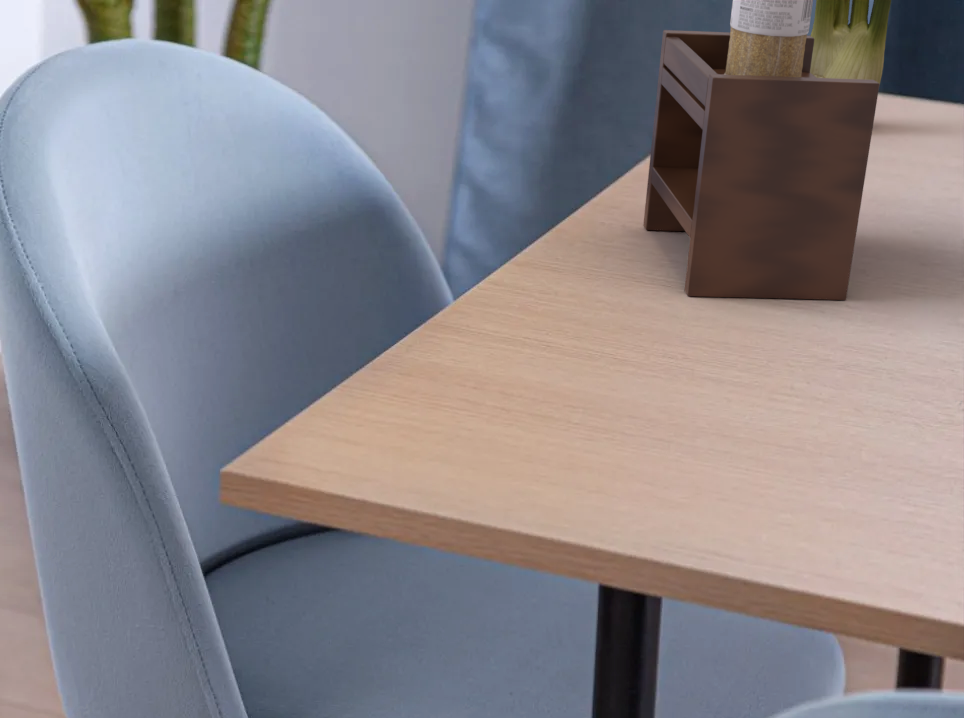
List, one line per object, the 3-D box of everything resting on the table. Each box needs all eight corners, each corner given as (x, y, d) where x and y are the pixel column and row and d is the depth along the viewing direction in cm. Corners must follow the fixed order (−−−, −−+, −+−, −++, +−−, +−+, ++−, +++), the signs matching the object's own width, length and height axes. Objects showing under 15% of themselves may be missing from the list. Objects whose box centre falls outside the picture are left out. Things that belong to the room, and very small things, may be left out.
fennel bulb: (877, 127, 140) (902, -31, 134) (857, 137, 136) (882, -24, 131) (807, 115, 142) (829, -39, 137) (786, 126, 138) (807, -33, 133)
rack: (783, 229, 111) (810, 35, 106) (846, 300, 99) (880, 83, 93) (642, 225, 110) (663, 29, 105) (687, 296, 98) (712, 77, 93)
